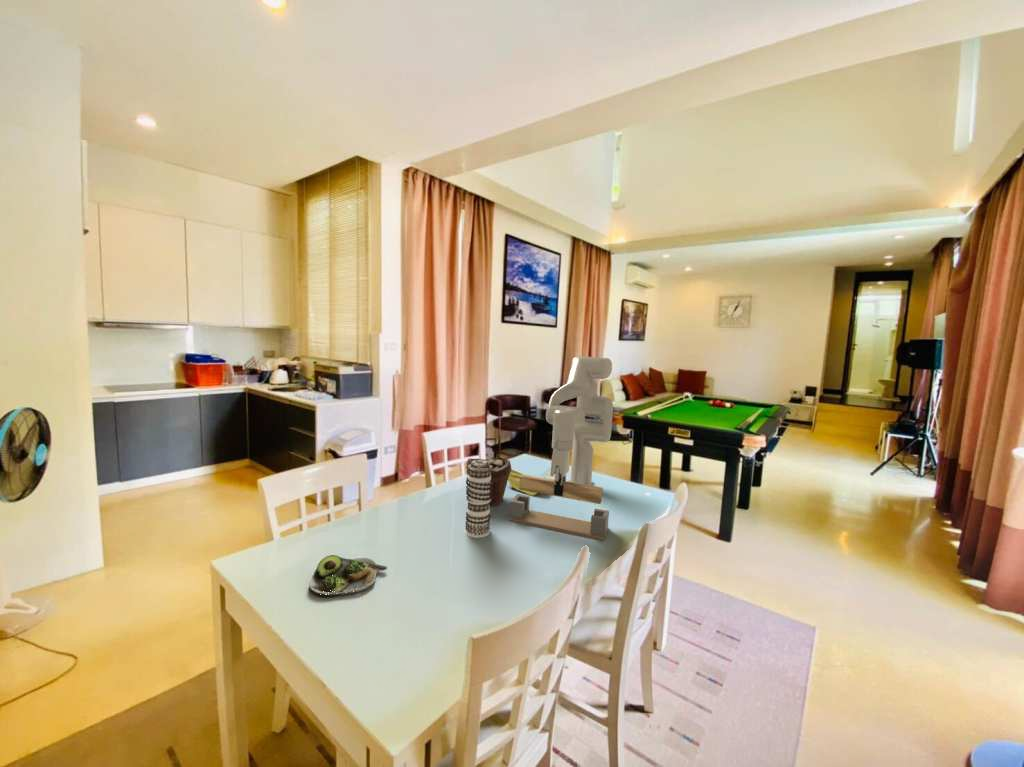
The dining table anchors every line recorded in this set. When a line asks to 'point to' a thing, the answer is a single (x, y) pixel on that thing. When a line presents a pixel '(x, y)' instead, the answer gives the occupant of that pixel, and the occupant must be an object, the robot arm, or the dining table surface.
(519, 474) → the plastic component
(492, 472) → the brown pot
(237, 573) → the dining table surface
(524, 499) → the end cap frame
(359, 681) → the dining table surface
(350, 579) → the salad plate
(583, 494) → the slat
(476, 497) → the tower model
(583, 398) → the robot arm
